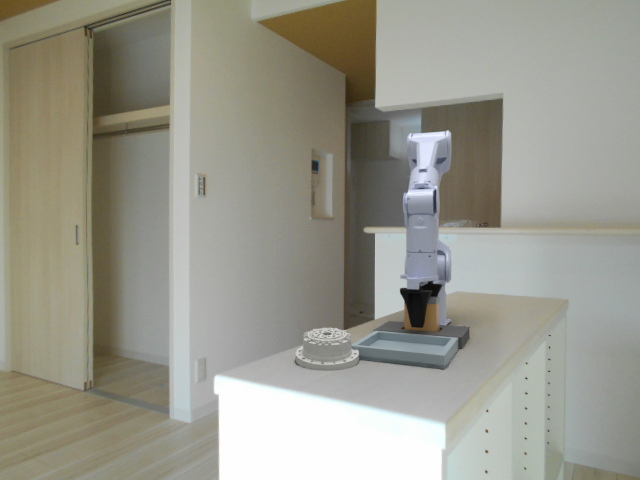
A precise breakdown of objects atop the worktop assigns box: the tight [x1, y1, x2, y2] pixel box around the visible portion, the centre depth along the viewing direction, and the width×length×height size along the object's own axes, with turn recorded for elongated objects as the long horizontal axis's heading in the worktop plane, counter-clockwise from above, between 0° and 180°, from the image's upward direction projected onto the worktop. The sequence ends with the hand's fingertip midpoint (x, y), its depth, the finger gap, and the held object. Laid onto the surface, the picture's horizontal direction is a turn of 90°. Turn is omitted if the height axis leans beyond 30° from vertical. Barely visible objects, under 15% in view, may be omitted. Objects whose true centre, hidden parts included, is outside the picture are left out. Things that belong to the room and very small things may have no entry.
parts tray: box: [351, 331, 459, 370], centre depth 76 cm, size 13×15×2 cm
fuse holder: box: [372, 320, 471, 350], centre depth 87 cm, size 10×16×2 cm, turn 65°
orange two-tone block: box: [403, 297, 440, 332], centre depth 87 cm, size 3×6×8 cm, turn 65°
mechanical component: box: [295, 327, 360, 371], centre depth 72 cm, size 10×4×10 cm
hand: (422, 323), depth 87 cm, fingers open, 7 cm apart
